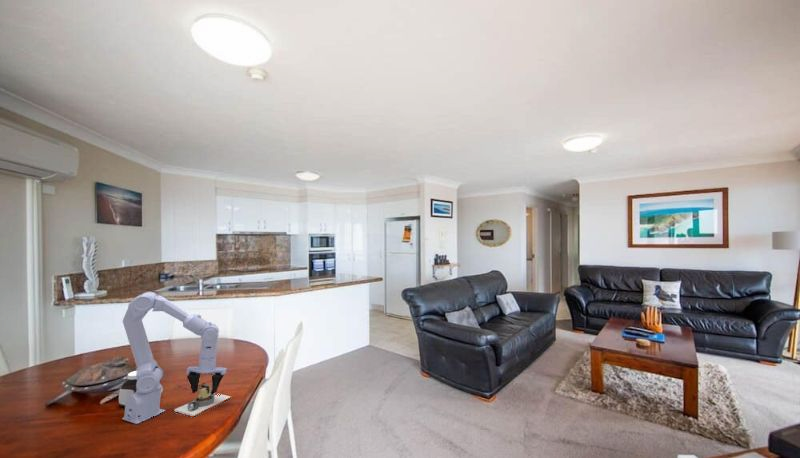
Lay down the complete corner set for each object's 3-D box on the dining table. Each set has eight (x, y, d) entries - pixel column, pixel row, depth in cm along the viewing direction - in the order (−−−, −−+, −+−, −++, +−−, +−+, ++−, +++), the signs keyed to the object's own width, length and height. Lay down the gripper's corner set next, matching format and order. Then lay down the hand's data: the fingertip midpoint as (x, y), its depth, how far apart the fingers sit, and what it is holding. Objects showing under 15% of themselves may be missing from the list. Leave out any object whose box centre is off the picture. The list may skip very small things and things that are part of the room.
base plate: (193, 417, 111) (193, 410, 111) (173, 412, 114) (174, 405, 115) (230, 399, 126) (231, 392, 126) (212, 394, 130) (213, 388, 130)
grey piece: (211, 398, 124) (212, 392, 124) (203, 398, 124) (204, 393, 124) (214, 394, 127) (215, 389, 128) (207, 395, 127) (207, 389, 127)
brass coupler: (211, 401, 121) (213, 384, 122) (201, 406, 118) (203, 388, 118) (205, 399, 123) (207, 382, 124) (195, 403, 119) (196, 386, 120)
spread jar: (114, 409, 115) (117, 377, 116) (131, 396, 126) (134, 366, 127) (151, 406, 118) (155, 375, 119) (165, 393, 129) (168, 365, 130)
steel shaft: (193, 406, 117) (194, 400, 117) (199, 407, 117) (200, 401, 117) (185, 410, 114) (186, 404, 114) (192, 411, 113) (193, 405, 114)
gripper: (231, 354, 126) (228, 388, 125) (196, 352, 126) (192, 387, 125) (222, 359, 119) (218, 396, 118) (184, 358, 119) (180, 395, 118)
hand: (204, 392), depth 121 cm, fingers open, 7 cm apart
